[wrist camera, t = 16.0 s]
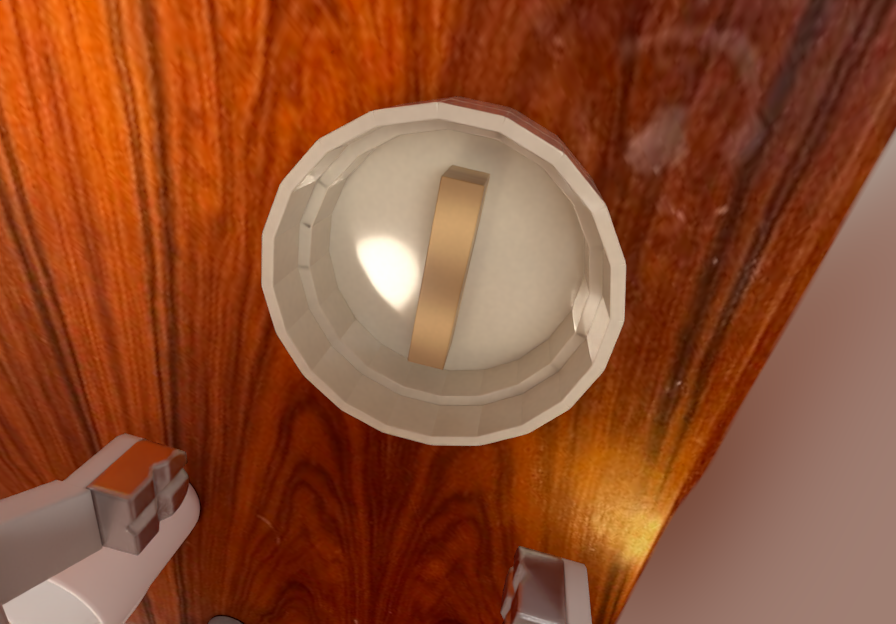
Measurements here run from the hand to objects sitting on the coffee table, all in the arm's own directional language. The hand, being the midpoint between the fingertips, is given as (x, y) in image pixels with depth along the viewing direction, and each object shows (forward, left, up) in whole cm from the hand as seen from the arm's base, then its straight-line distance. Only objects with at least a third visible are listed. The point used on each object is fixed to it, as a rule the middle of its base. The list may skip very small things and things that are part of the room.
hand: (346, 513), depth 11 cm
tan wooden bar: (0, 0, -17) cm, 17 cm away
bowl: (0, 0, -18) cm, 18 cm away
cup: (+20, +28, -18) cm, 39 cm away
